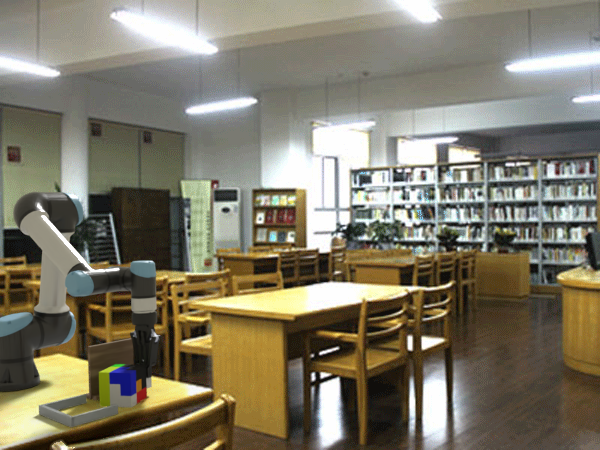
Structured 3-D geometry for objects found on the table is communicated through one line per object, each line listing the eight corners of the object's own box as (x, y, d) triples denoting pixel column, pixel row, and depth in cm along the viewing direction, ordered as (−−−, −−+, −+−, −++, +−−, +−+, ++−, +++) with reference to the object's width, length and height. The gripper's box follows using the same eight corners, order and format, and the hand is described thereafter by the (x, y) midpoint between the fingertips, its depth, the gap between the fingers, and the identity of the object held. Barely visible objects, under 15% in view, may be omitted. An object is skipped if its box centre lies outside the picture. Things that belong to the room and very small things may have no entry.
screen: (85, 397, 189) (83, 345, 189) (128, 386, 200) (126, 337, 200) (95, 401, 185) (93, 347, 185) (138, 389, 196) (137, 339, 196)
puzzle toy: (131, 407, 178) (130, 373, 178) (99, 406, 180) (98, 372, 180) (146, 397, 188) (145, 364, 188) (116, 396, 190) (115, 364, 190)
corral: (39, 414, 174) (38, 405, 174) (85, 402, 184) (84, 393, 184) (70, 427, 162) (70, 417, 162) (118, 413, 172) (117, 404, 172)
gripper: (167, 311, 188) (169, 388, 188) (142, 307, 197) (144, 381, 197) (146, 314, 182) (148, 394, 183) (121, 311, 191) (124, 387, 191)
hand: (146, 387), depth 190 cm, fingers closed
